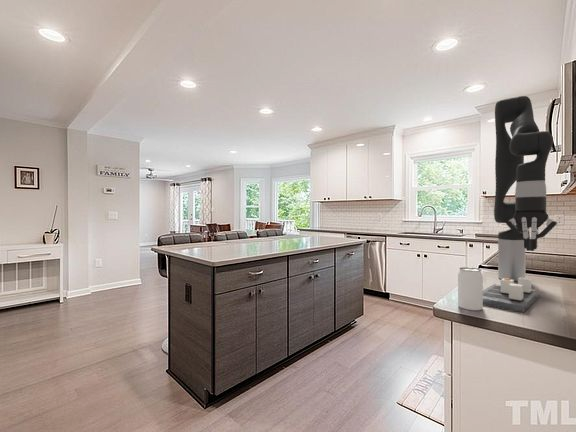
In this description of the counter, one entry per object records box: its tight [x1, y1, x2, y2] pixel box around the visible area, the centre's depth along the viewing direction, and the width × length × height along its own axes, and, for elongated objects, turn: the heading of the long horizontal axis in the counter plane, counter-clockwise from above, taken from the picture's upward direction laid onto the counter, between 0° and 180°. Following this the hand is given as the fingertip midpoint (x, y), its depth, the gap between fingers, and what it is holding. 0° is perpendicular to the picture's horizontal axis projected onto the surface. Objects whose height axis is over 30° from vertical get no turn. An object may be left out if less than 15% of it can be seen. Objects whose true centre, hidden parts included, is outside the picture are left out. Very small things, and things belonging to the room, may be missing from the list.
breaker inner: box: [517, 277, 532, 293], centre depth 98 cm, size 3×3×4 cm
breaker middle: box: [500, 278, 515, 294], centre depth 97 cm, size 3×3×4 cm
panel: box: [483, 283, 540, 314], centre depth 97 cm, size 24×13×2 cm, turn 131°
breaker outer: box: [509, 283, 523, 300], centre depth 90 cm, size 3×3×4 cm
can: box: [457, 266, 484, 312], centre depth 89 cm, size 6×6×12 cm
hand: (530, 250), depth 92 cm, fingers closed
